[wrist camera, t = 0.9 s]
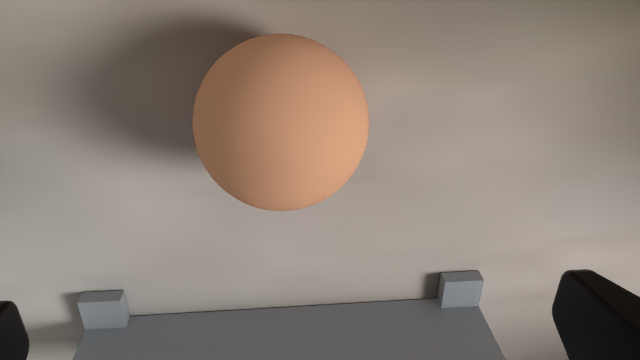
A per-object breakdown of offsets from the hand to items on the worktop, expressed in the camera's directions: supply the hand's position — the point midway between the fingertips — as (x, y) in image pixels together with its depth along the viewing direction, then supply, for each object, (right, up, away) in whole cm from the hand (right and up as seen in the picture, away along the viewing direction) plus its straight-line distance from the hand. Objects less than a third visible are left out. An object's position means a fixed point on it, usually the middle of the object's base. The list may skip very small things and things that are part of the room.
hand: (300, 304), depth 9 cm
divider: (-1, -4, +14) cm, 14 cm away
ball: (-1, +5, +9) cm, 10 cm away
